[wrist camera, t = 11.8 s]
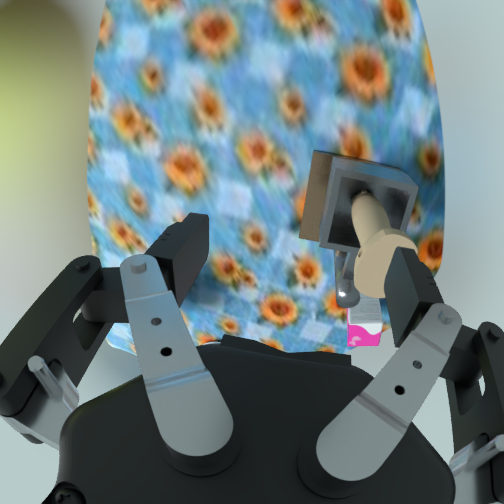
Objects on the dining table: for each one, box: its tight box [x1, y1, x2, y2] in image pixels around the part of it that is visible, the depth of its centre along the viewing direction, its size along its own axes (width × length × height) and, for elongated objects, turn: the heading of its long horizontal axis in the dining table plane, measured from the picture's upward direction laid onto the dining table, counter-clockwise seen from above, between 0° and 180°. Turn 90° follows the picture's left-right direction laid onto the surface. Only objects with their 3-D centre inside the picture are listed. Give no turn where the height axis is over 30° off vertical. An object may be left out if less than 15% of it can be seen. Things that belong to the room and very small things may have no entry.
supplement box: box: [347, 293, 383, 346], centre depth 51 cm, size 6×6×12 cm
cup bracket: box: [299, 150, 419, 308], centre depth 40 cm, size 17×14×18 cm
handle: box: [351, 190, 418, 298], centre depth 30 cm, size 5×6×15 cm
